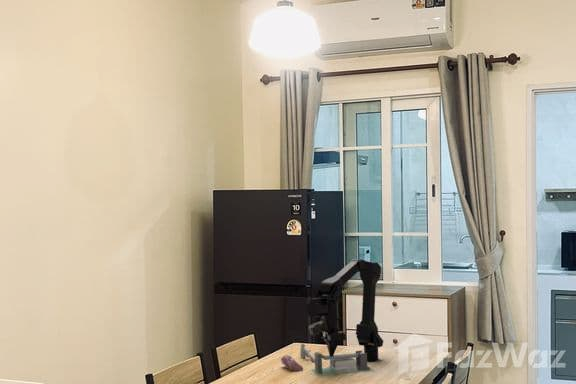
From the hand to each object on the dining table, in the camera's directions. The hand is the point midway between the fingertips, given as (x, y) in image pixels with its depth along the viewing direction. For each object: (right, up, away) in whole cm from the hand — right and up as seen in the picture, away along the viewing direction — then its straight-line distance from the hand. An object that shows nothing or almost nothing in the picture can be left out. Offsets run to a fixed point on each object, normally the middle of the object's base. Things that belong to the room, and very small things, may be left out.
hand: (331, 356), depth 254 cm
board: (+4, -6, +1) cm, 7 cm away
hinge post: (+12, -5, +3) cm, 13 cm away
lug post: (-5, -6, -1) cm, 8 cm away
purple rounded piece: (-15, -7, +6) cm, 18 cm away
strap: (+5, -1, +1) cm, 5 cm away
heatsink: (+4, -5, +1) cm, 7 cm away
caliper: (-7, -7, +19) cm, 21 cm away
